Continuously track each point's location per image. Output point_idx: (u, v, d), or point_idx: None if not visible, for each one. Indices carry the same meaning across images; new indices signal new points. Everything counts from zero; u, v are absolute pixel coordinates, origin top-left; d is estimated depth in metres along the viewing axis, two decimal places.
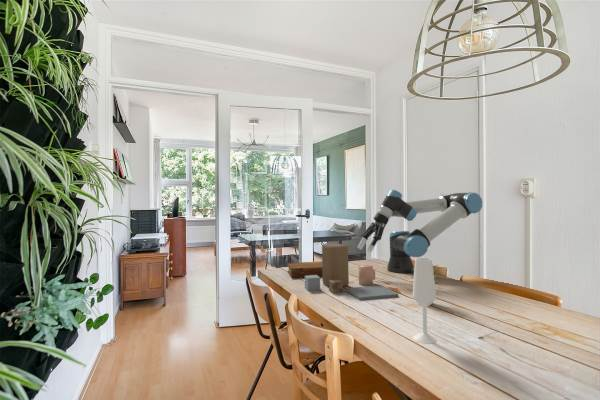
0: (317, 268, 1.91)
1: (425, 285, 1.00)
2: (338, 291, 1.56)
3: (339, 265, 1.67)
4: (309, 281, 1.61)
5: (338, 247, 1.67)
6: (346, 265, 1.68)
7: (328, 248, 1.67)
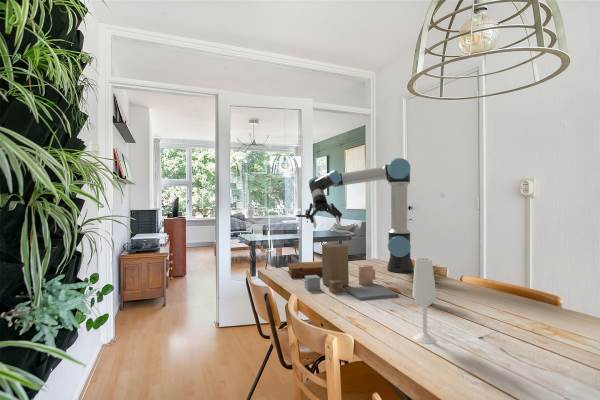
0: (317, 268, 1.91)
1: (425, 285, 1.00)
2: (338, 291, 1.56)
3: (339, 265, 1.67)
4: (309, 281, 1.61)
5: (338, 247, 1.67)
6: (346, 265, 1.68)
7: (328, 248, 1.67)
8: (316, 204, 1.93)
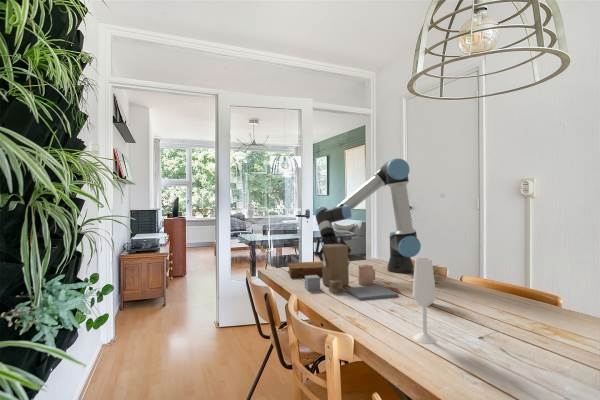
0: (317, 268, 1.91)
1: (425, 285, 1.00)
2: (338, 291, 1.56)
3: (339, 265, 1.67)
4: (309, 281, 1.61)
5: (338, 247, 1.67)
6: (346, 265, 1.68)
7: (328, 248, 1.67)
8: (323, 238, 1.78)
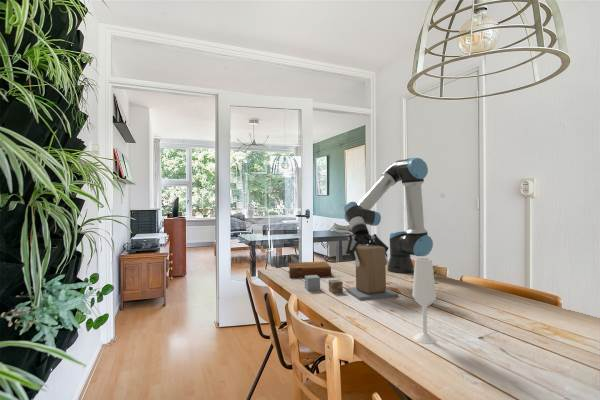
0: (316, 268, 1.91)
1: (425, 285, 1.00)
2: (338, 291, 1.56)
3: (376, 268, 1.49)
4: (309, 281, 1.61)
5: (375, 249, 1.50)
6: (384, 269, 1.51)
7: (363, 250, 1.50)
8: (356, 236, 1.61)
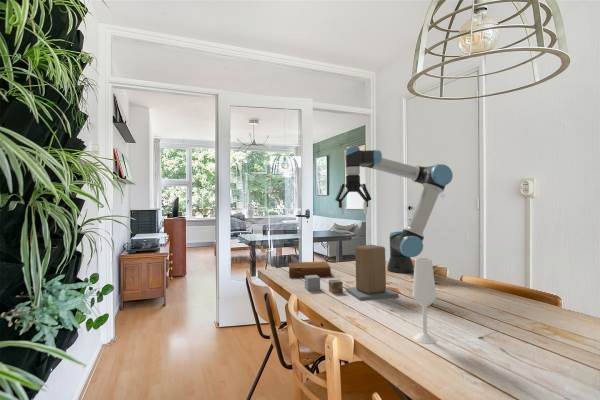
0: (315, 268, 1.90)
1: (425, 285, 1.00)
2: (338, 291, 1.56)
3: (376, 268, 1.49)
4: (309, 281, 1.61)
5: (375, 249, 1.50)
6: (384, 269, 1.51)
7: (363, 250, 1.50)
8: (348, 185, 1.87)
